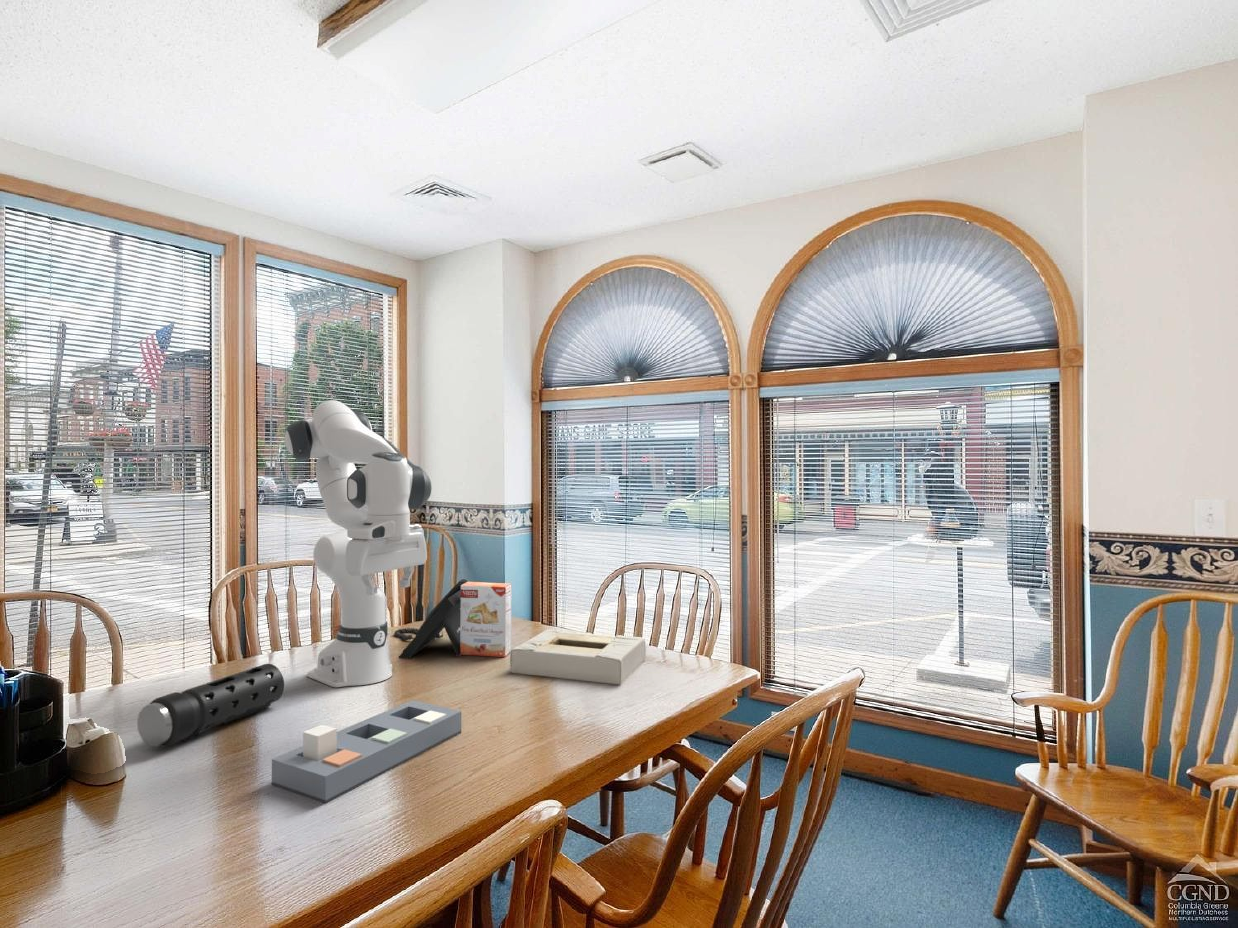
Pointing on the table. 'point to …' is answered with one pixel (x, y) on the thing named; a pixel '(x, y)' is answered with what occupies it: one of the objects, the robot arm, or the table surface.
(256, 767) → the table surface
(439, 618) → the office phone
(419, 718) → the socket block
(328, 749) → the plug
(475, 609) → the cracker box
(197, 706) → the muzzle brake
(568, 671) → the box
